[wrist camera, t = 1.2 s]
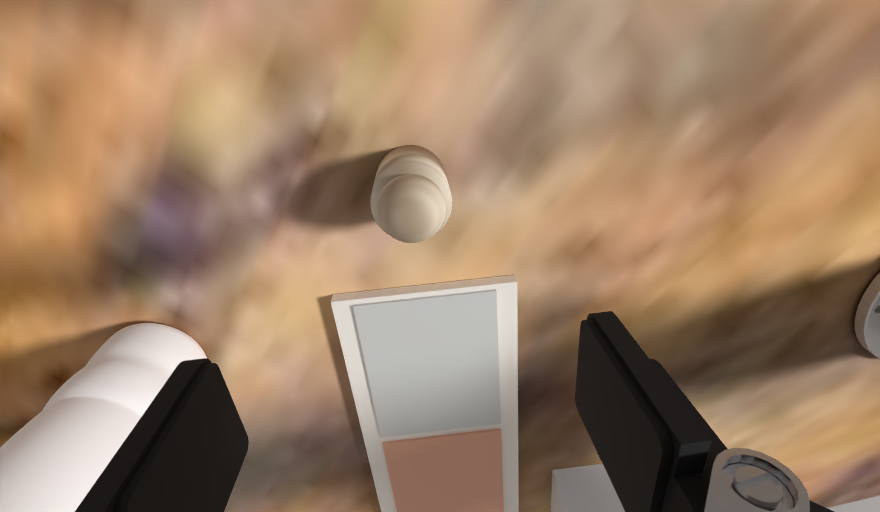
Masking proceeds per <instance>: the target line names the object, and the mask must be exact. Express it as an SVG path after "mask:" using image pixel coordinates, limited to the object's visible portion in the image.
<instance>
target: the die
mask: <svg viewBox="0 0 880 512" xmlns="http://www.w3.org/2000/svg"><path fill="white" fill-rule="evenodd" d="M551 512H625V510H624V508H623V506H622V504H621V502H620V500H619V498H618V495H617V493H616V491H615V489H614V487H613V485H612V483H611V480H610V478H609V476H608V474H607V472H606V470H605V468H604V465H603V464H598V465H589V466H581V467H572V468H564V469H555V470H552V490H551Z"/></svg>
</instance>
